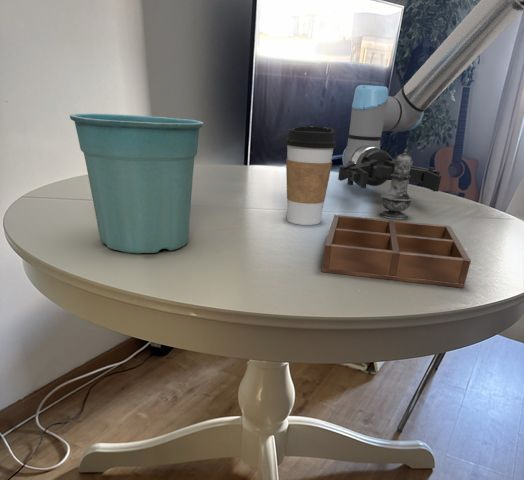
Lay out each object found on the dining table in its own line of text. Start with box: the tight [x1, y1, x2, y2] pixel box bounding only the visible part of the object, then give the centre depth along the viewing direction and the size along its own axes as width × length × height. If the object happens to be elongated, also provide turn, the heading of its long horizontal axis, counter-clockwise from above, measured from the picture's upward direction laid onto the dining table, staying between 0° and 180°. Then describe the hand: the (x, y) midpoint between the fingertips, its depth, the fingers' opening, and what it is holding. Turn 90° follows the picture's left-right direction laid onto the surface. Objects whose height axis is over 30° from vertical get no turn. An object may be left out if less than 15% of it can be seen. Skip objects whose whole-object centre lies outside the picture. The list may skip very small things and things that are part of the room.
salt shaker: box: [379, 148, 414, 220], centre depth 89 cm, size 6×6×12 cm
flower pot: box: [69, 113, 204, 254], centre depth 65 cm, size 16×16×16 cm
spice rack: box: [321, 214, 472, 289], centre depth 66 cm, size 17×17×4 cm
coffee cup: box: [284, 125, 337, 226], centre depth 81 cm, size 8×8×15 cm
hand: (401, 182), depth 87 cm, fingers open, 13 cm apart
